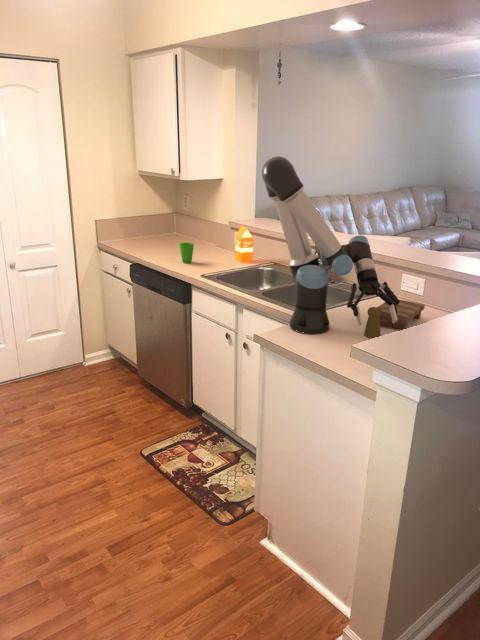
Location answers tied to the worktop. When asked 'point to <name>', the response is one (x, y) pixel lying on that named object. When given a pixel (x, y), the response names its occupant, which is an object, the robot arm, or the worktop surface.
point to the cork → (373, 323)
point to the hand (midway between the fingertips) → (378, 322)
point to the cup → (186, 251)
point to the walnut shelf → (400, 314)
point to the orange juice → (244, 246)
